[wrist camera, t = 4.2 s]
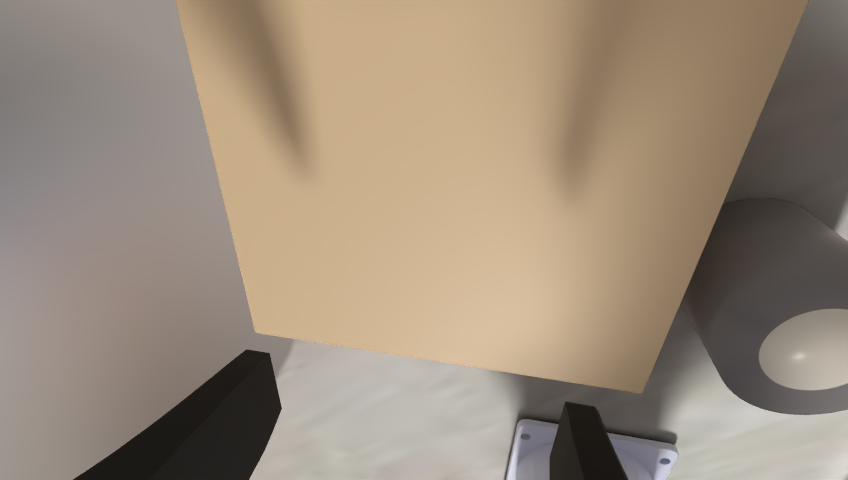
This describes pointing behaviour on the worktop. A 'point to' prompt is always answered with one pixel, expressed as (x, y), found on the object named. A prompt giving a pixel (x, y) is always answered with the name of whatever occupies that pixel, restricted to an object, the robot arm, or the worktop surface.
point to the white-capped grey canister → (774, 306)
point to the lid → (481, 168)
